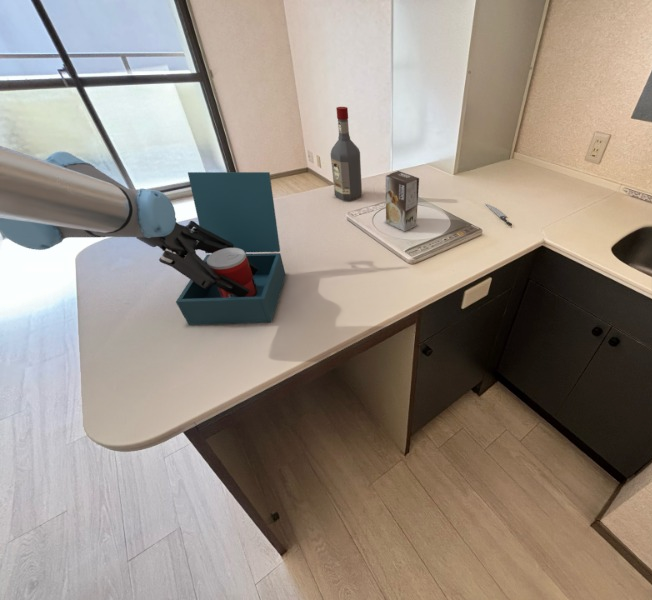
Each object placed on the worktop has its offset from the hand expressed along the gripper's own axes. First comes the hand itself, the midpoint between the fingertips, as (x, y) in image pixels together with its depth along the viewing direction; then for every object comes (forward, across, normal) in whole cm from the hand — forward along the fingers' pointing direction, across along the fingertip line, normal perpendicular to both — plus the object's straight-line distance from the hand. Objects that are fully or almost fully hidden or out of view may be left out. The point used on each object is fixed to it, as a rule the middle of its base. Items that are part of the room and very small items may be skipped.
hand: (251, 282), depth 76 cm
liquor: (+18, -60, +11) cm, 63 cm away
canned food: (0, 0, -5) cm, 5 cm away
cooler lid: (-11, -12, +6) cm, 17 cm away
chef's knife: (+56, -42, +50) cm, 87 cm away
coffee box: (+31, -36, +24) cm, 53 cm away
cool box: (+1, 0, -6) cm, 6 cm away
